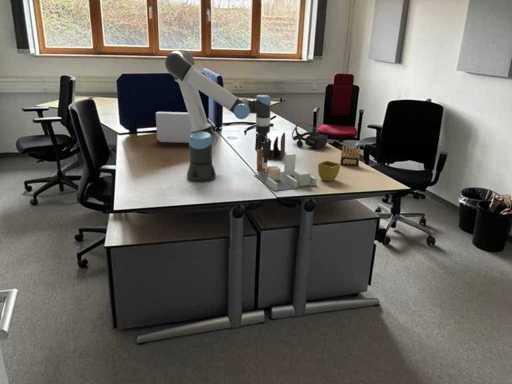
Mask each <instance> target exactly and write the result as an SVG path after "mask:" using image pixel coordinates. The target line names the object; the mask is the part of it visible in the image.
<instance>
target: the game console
mask: <svg viewBox="0 0 512 384" xmlns="http://www.w3.org/2000/svg"><path fill="white" fill-rule="evenodd" d="M155 122H156V124H155V125H156V138H157V140H158V141H159V142H160V143H185V144H186V143H187V144H189V136H190V135H191V134H192V133H191V129H192V124H191V120H190V117H189V114H188V112H183V111H182V112H181V111H180V112H179V111H174V112H173V111H157V112H155Z"/></svg>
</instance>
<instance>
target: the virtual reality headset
mask: <svg viewBox="0 0 512 384" xmlns="http://www.w3.org/2000/svg"><path fill="white" fill-rule="evenodd" d="M301 124H303V125H308V126H310V127H311V128H312V129H314V131H313V130H311V132H310V131H305V132H304V133H299V131H298V127H299V125H301ZM294 133H295V134H296V135H294ZM305 136H306V137H305ZM291 138H292V140H293V141H294V142H295V141H296V146H297V147H298V148H301V147H304V146H303V145H304V143H305V145H306V146H308V147H310V148H313V149H315V150H321V149H323V148H325V147H326V145H327V143H328V141H329V140H328V139H329V137H328V135H327V134H321V133H320V134H319V131H318V130H317V129H316V127H314V125H312V124H310V123H308V122H300V123H298V124H296V126H295V127H294V129H293V130H292V132H291ZM303 141H304V143H303Z"/></svg>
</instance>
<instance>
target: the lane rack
mask: <svg viewBox="0 0 512 384" xmlns="http://www.w3.org/2000/svg"><path fill="white" fill-rule="evenodd" d="M254 177H255V178H256V179H257V180H259V181H260V182H261V183H263V185H265V186H266V187H267V188H269V189H270V190H271V191H272V192H282V191H283V192H284V191H289V190H296V189H304V188H311V187H317V186H318V184H317V179H318V178H317V177H315V176H313V175H312V174H311V175H310V185H305V186H298V185H297V184H298V181H297V180H295V179H294V178H292V177H291V176H289V175H286V176H285V175H284V171H280V180H275V181H274V180H272V179H271V178H270V177H267V178H265V173H260V174H254Z"/></svg>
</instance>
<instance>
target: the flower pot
mask: <svg viewBox="0 0 512 384" xmlns="http://www.w3.org/2000/svg"><path fill="white" fill-rule="evenodd" d="M341 166H342V165H341V164H340V163H338V162H335V161H330V160H325V161H322V162H319V163H318V164H317V169H318V175H319V178H320V179H321V180H322V181H325V182H332V181H334V180H336V178H337V177H338V174H339V173H340V168H341Z"/></svg>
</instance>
